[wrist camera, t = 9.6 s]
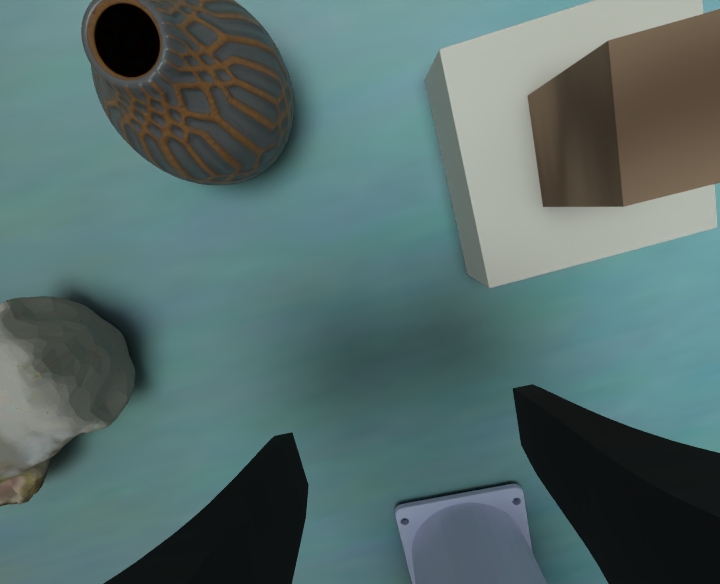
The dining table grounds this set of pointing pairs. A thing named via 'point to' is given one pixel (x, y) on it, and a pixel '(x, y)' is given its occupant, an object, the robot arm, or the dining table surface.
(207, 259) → the dining table surface
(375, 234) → the dining table surface
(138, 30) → the vase
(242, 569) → the robot arm
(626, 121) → the walnut block
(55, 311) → the ceramic sculpture
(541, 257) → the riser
